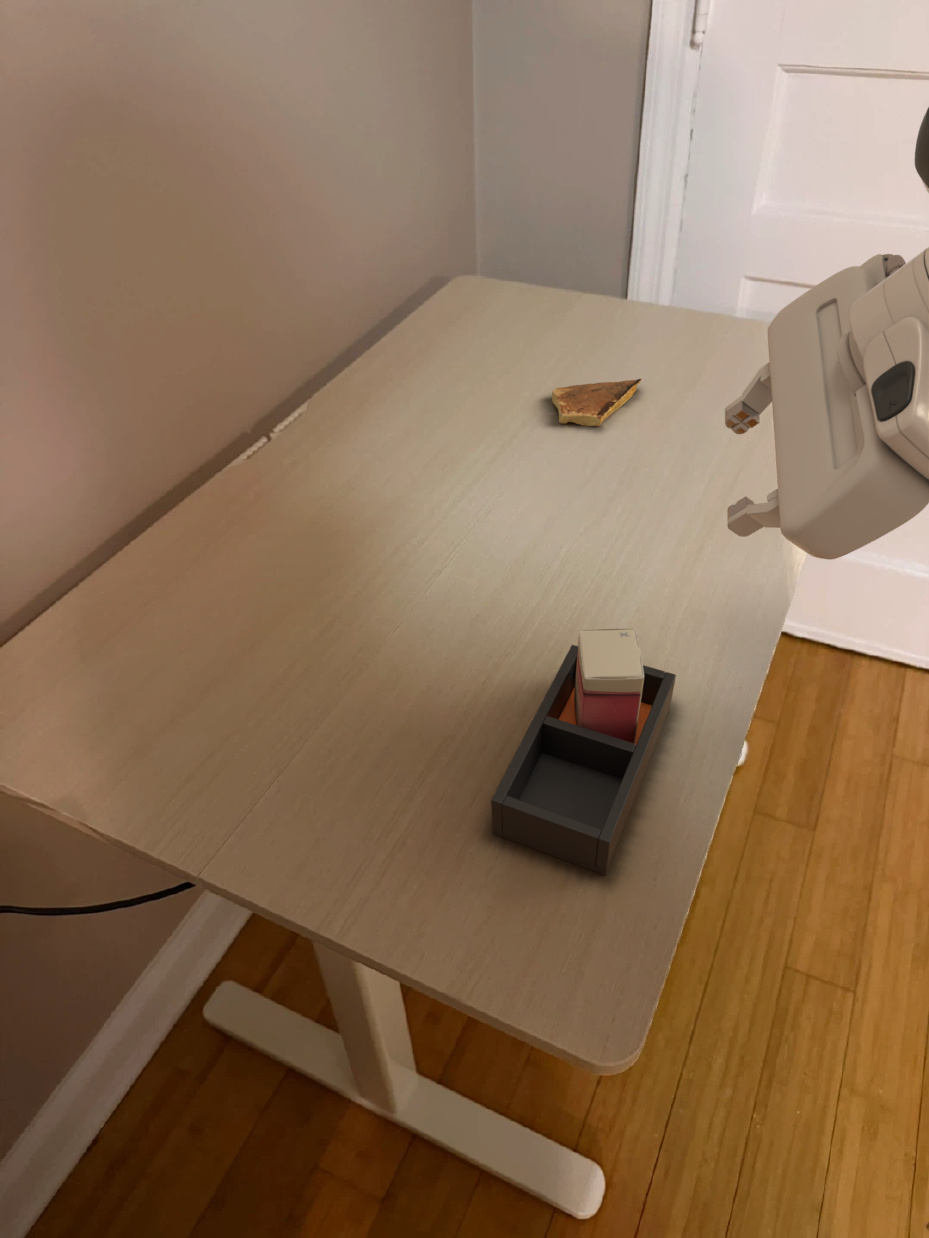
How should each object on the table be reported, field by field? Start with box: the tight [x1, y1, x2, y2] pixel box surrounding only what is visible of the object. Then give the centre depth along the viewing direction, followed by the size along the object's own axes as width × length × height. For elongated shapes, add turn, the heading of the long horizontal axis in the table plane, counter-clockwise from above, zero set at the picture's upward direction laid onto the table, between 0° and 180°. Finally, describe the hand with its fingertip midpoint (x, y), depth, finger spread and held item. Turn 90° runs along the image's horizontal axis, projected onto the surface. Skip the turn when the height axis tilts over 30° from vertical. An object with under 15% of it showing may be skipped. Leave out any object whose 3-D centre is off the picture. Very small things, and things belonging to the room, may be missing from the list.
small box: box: [574, 627, 644, 743], centre depth 66 cm, size 5×4×8 cm
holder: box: [490, 644, 677, 876], centre depth 65 cm, size 8×16×4 cm, turn 155°
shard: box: [551, 378, 642, 427], centre depth 103 cm, size 11×8×2 cm
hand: (732, 471), depth 61 cm, fingers open, 8 cm apart
